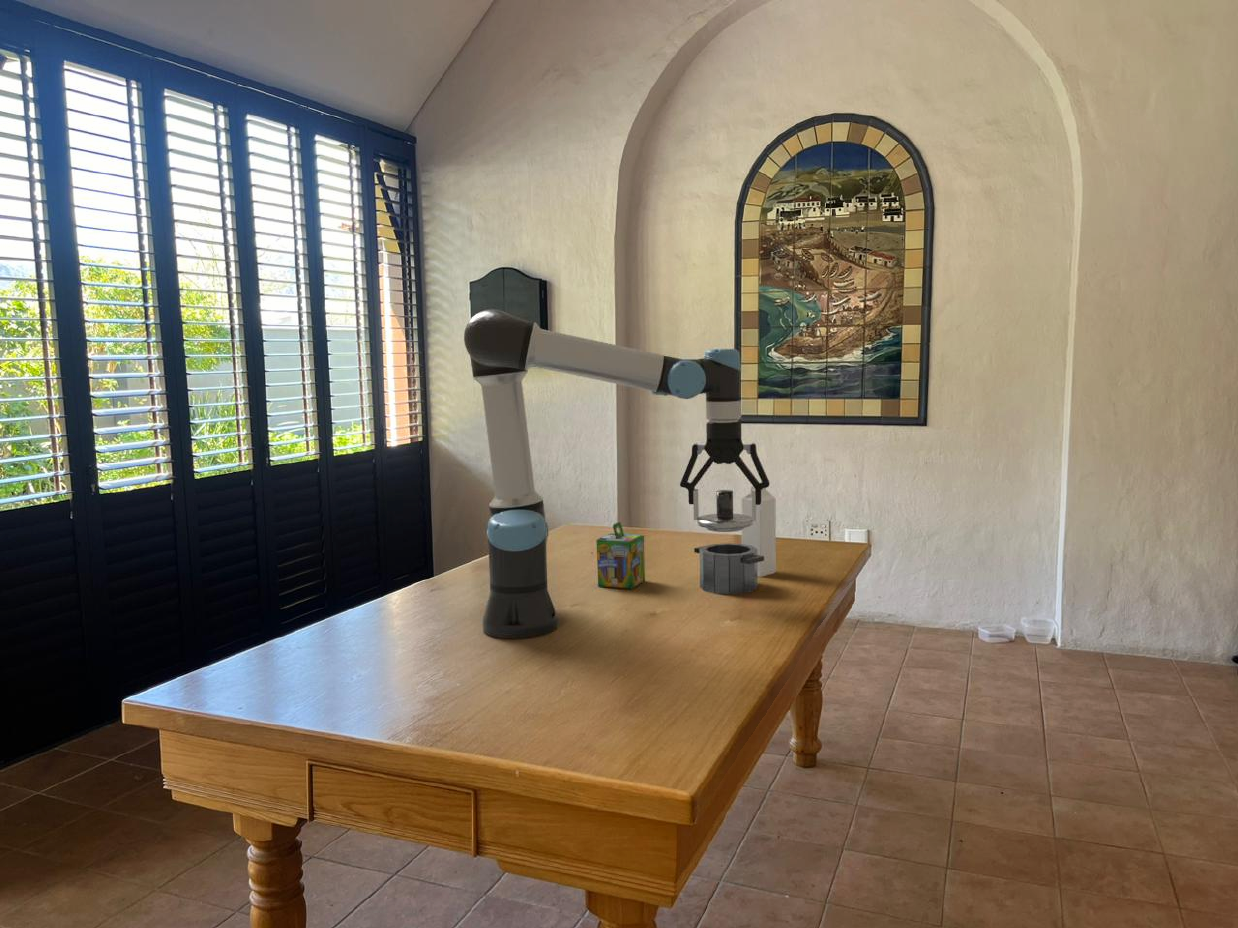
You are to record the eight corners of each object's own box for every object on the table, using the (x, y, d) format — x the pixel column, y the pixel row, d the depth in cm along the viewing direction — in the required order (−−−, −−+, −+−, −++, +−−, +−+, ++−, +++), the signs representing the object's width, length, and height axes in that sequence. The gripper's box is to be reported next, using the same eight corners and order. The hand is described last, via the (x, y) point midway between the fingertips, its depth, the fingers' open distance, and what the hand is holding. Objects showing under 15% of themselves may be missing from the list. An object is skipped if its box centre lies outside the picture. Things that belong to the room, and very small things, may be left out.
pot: (737, 599, 210) (736, 559, 208) (682, 584, 223) (682, 547, 222) (775, 588, 218) (775, 550, 217) (720, 575, 231) (720, 539, 230)
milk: (775, 573, 233) (776, 485, 230) (760, 577, 229) (760, 488, 226) (756, 569, 237) (756, 482, 234) (741, 573, 233) (741, 485, 230)
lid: (725, 536, 197) (724, 497, 196) (686, 528, 206) (685, 491, 205) (764, 528, 204) (764, 490, 203) (725, 521, 214) (724, 485, 213)
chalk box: (632, 590, 220) (630, 527, 218) (596, 587, 223) (594, 525, 221) (646, 580, 228) (645, 520, 226) (612, 577, 232) (610, 518, 230)
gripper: (781, 418, 204) (781, 516, 206) (670, 420, 209) (672, 515, 211) (780, 421, 196) (780, 523, 199) (665, 422, 201) (667, 521, 204)
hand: (725, 519), depth 205 cm, fingers closed on lid, 12 cm apart
